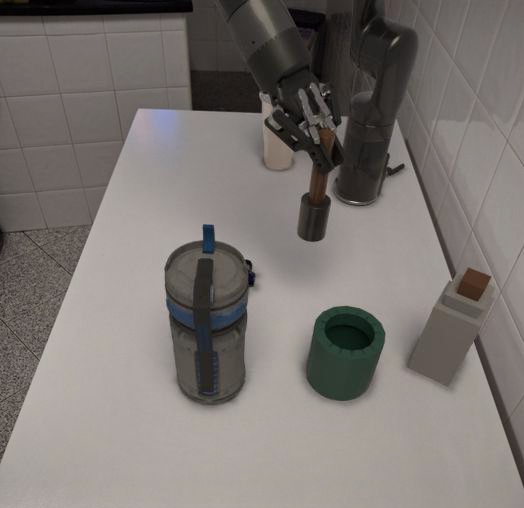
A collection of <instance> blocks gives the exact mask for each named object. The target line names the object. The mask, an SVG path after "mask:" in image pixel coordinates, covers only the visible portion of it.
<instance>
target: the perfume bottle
mask: <svg viewBox="0 0 524 508" xmlns="http://www.w3.org/2000/svg"><path fill="white" fill-rule="evenodd" d="M452 279H453V280H451V279H449V280H448V281H447V283H446V285H445V286H444V287H443V290H442V291H441V293H440V294H439V297H438V298H437V300H436V302H435V304H434V305H433V307H432V309H431V312H430V314H429V316H428V318H427V321H426V323H425V326H424V329H423V331H422V333H421V335H420V337H419V340H418V342H417V345H416V347H415V349H414V352H413V354H412V356H411V358H410V361H409V364H407V365H408V366H407V368H408V369H409V370H412V371H414V372H416V373H418V374H420V375H422V376H425V377H426V378H429V379H431V380H433V381H434V382H437V383H440V384H441V385H444V386H446V387H450V385H451V383H452V381H453V379H454V378H455V376H456V375H457V372H458V370H459V369H460V367H461V365H462V364H463V361H464V359H465V358H466V356H467V354H468V353H469V351H470V348H471V347H472V345H473V343H474V341H475V339H476V338H477V336H478V335H479V332H480V331H481V329H482V327H483V325H484V323H485V320H486V318H487V316H488V314H489V312H490V310H491V308H492V306H493V303H494V302H495V299H496V298H495V297H492V295H493V294H494V291H495V289H496V287H495V286H492V285H490V284H489V283H490V281H491V280H492V275H489V274H487V273H484V272H482V271H480V270H476V269H473V268H471V267H467V268H466V270H465V272H464V274H463V273H460V272H456V274H455V276H454V278H452Z"/></svg>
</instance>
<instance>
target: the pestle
mask: <svg viewBox="0 0 524 508" xmlns="http://www.w3.org/2000/svg"><path fill="white" fill-rule="evenodd" d="M317 133H318V135H319V137H320V140H321V142H320V144H321V143H323V144H324V146H325V148H326V150H327V152H328V154H329V156H330V158H332V152H333V146H334V140H335V133H334V132H333V131H331V130H328V129H322V130H319V131H318V132H317ZM329 176H330V172H329V173H327V174H326V175H321V174H320V173H319V172H318V171H317V169H316V167H315V165H314V163H313V162H312V167H311V175H310V182H309V190H308V191H307V192H306V193H304V194H302V196H301V198H300V205H299V213H298V220H297V221H298V222H297V229H296V234H297V236H298V237H299V238H300V239H301V240H302V241H305V242H308V243H316V242H320V241H322V240H324V239H325V237H326V233H327V228H328V222H329V217H330V212H331V205H332V199H331V197H330V196H329V195H328V194H327V188H328V181H329Z"/></svg>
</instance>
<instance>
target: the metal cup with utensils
mask: <svg viewBox="0 0 524 508" xmlns="http://www.w3.org/2000/svg"><path fill="white" fill-rule="evenodd" d="M318 33H319V29H318V28H315V27H314V28H313V29H312V33H311V35H310V37H309V40H308V43H307V45H306V47H307V49H308V51H309V53H310V52H311V50H312V47H313V45H314V43H315V40H316V37H317V36H318ZM258 97H259V99H260V101H261V119H262V121H261V122H262V137H263V160H264V161H263V162H264V166H266V167H267V168H268V169H271V170H275V171H284V170H287V169H289V168H291V167H292V164H293V159H294V158H293V157H294V154H295V152H294V151H293V150H291V149H290V148H289V147H288V146H287V145H286V144H285V143H284V142H283V141H282V140H281V139H279V138H278V137H277V136H276V135H275V134H274V133H273V132H272V131H271V130H270V129H269V128H267V127H266V126H265V124H264V120H265V119H266V118H267V117H268V116H270V114H271V112H272V110H273V107H272V105H271V99H270V96H269V94H267V95H265V94H263V93H262V92H261V91H259V93H258ZM291 137H292V138H294V139H295V140H296V141H297V139H296V138H295V137H294V136H291Z"/></svg>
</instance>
